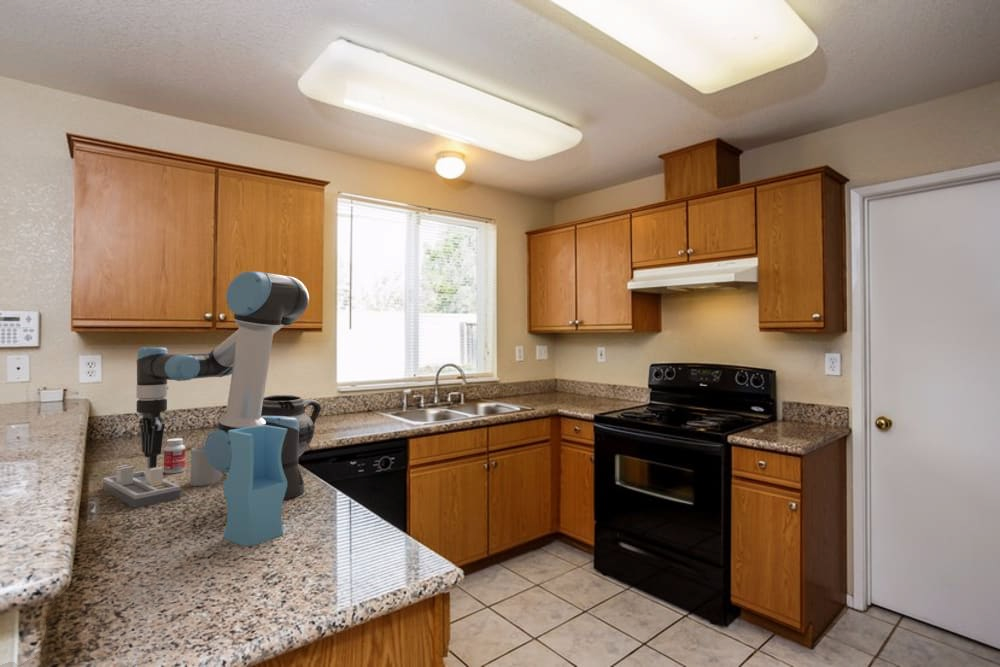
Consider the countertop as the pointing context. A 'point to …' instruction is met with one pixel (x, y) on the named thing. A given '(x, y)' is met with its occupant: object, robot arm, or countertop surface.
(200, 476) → the mug
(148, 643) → the countertop surface
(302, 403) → the ceramic pot
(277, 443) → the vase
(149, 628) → the countertop surface
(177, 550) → the countertop surface
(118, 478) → the fader
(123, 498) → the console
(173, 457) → the pill bottle
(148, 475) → the fader
